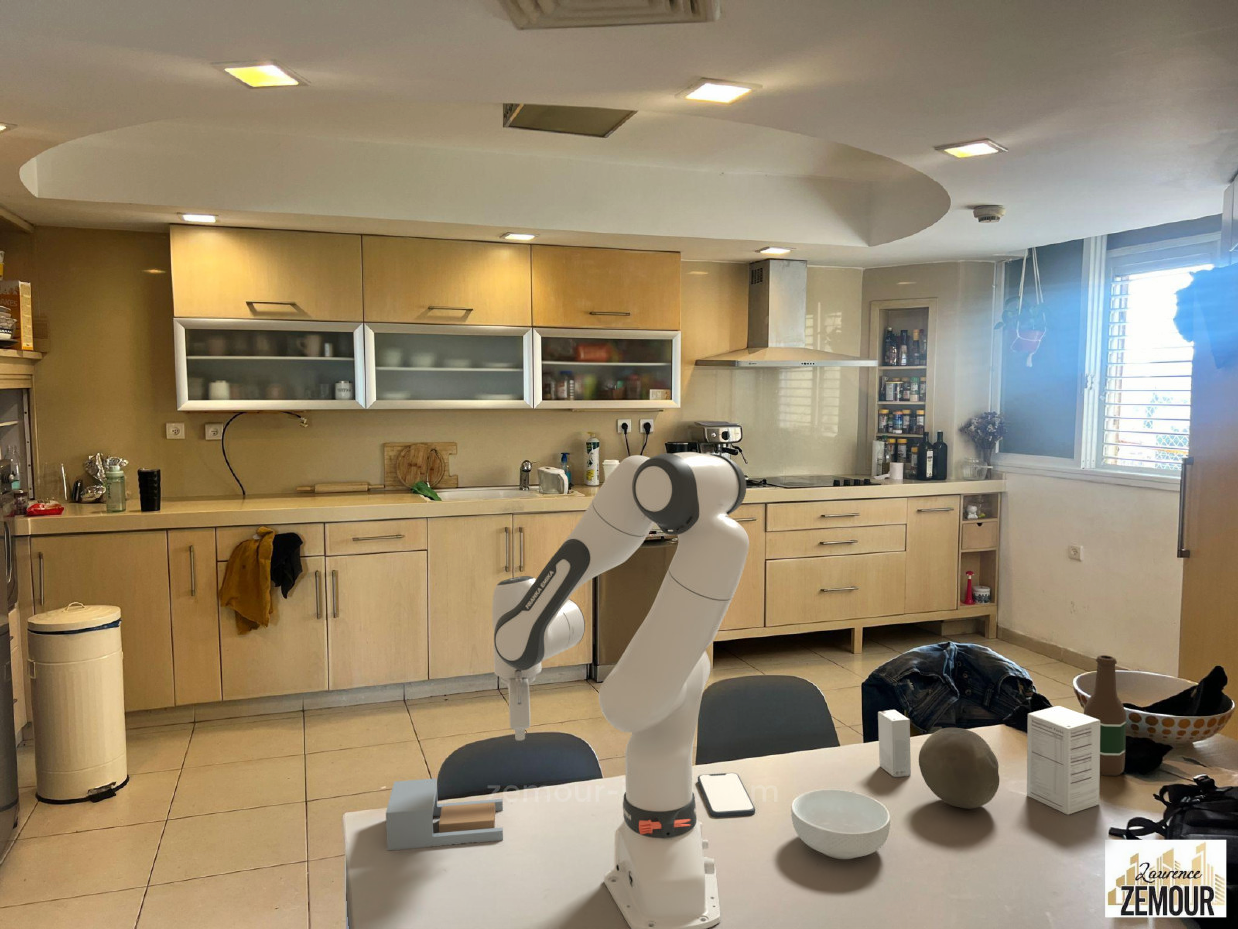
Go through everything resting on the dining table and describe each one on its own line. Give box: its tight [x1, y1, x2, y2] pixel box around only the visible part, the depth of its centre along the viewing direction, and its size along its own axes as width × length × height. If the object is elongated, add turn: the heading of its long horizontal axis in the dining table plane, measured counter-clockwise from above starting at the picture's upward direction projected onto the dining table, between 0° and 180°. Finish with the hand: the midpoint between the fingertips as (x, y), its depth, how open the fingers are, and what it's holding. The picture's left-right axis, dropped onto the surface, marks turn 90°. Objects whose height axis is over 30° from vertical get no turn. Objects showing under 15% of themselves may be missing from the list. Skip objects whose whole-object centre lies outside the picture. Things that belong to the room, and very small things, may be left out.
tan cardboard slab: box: [438, 803, 496, 833], centre depth 162 cm, size 7×10×3 cm
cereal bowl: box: [790, 788, 891, 860], centre depth 152 cm, size 17×17×7 cm
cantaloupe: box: [918, 727, 1000, 810], centre depth 165 cm, size 14×14×15 cm
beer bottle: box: [1083, 654, 1127, 777], centre depth 180 cm, size 8×8×24 cm
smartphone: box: [697, 772, 756, 819], centre depth 172 cm, size 9×2×16 cm
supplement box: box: [1026, 705, 1101, 816], centre depth 167 cm, size 10×9×17 cm
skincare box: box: [877, 709, 912, 778], centre depth 181 cm, size 6×4×12 cm
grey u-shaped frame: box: [385, 777, 504, 851], centre depth 161 cm, size 12×20×7 cm, turn 98°
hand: (519, 734), depth 162 cm, fingers open, 3 cm apart
